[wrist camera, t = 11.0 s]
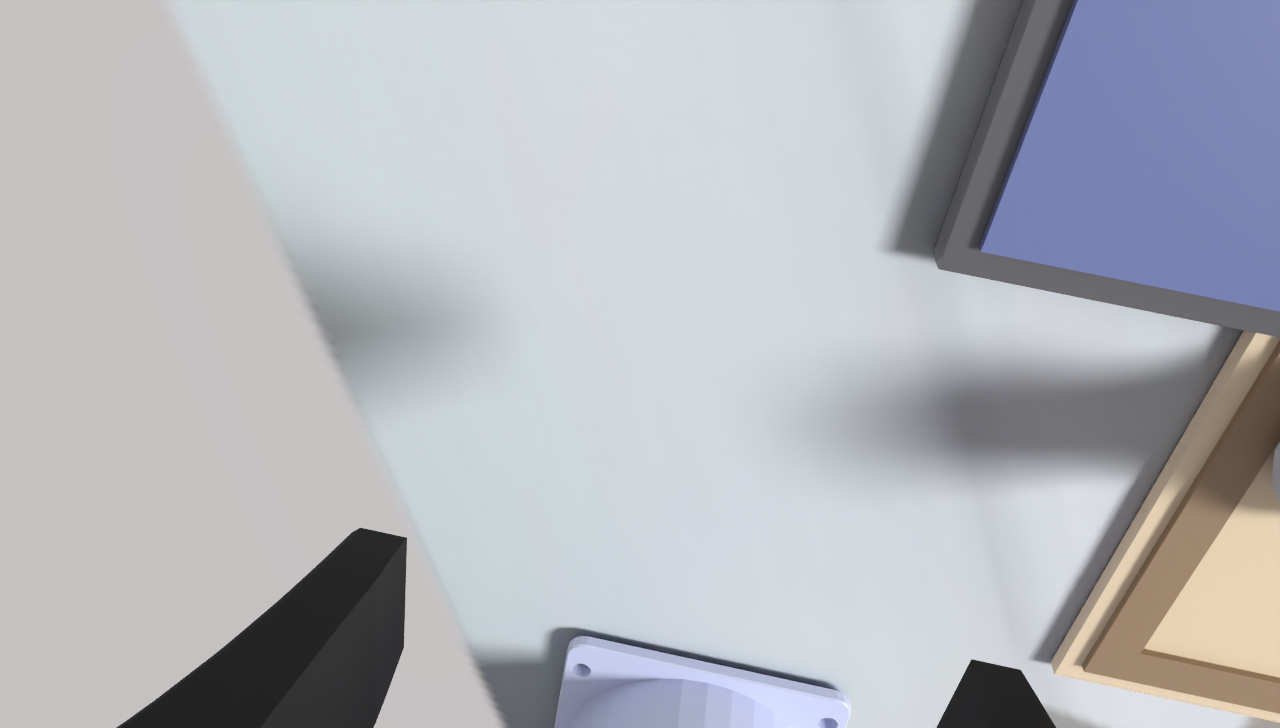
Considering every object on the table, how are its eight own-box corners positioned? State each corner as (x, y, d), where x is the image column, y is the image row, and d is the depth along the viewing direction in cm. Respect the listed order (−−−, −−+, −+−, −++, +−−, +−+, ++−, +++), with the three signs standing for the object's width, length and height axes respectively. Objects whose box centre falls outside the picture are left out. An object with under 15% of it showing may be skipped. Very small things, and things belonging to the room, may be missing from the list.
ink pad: (1326, 331, 19) (1351, 356, 18) (933, 252, 19) (939, 273, 18) (1605, -107, 15) (1655, -101, 14) (1094, -201, 15) (1112, -200, 14)
